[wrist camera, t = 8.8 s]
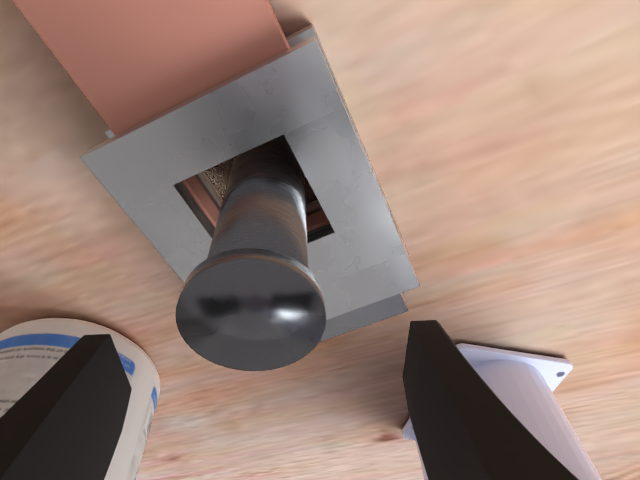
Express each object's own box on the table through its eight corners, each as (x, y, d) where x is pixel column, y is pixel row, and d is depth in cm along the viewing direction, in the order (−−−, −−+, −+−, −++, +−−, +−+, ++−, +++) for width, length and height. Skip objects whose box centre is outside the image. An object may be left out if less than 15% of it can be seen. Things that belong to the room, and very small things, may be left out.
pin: (298, 210, 21) (301, 380, 13) (217, 190, 20) (166, 357, 12) (324, 136, 19) (347, 282, 11) (235, 109, 18) (188, 246, 10)
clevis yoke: (416, 272, 23) (432, 315, 20) (264, 328, 25) (260, 374, 22) (312, 23, 16) (315, 39, 13) (111, 125, 18) (79, 158, 15)
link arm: (364, 205, 21) (371, 229, 19) (234, 258, 22) (229, 285, 20) (121, -331, 11) (88, -381, 10) (-80, -180, 13) (-140, -199, 11)
